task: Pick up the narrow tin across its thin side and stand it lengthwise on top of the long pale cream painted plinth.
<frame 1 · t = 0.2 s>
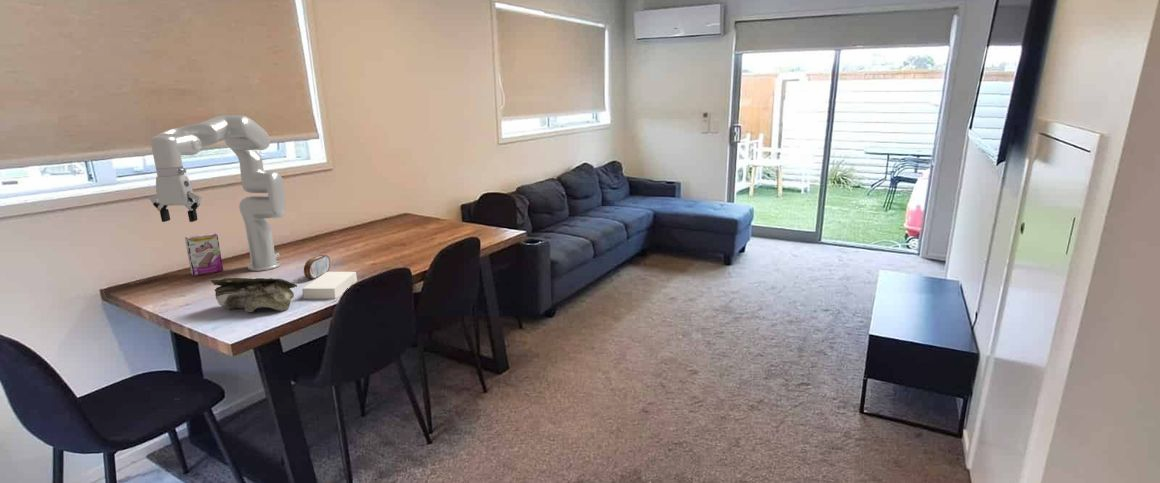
hand: (179, 221, 193), 31 cm above the table, fingers open, 9 cm apart
tin: (319, 276, 232), on the table
candy bar box: (207, 273, 236), on the table
plinth: (331, 289, 215), on the table
hollow geode rock: (256, 308, 197), on the table
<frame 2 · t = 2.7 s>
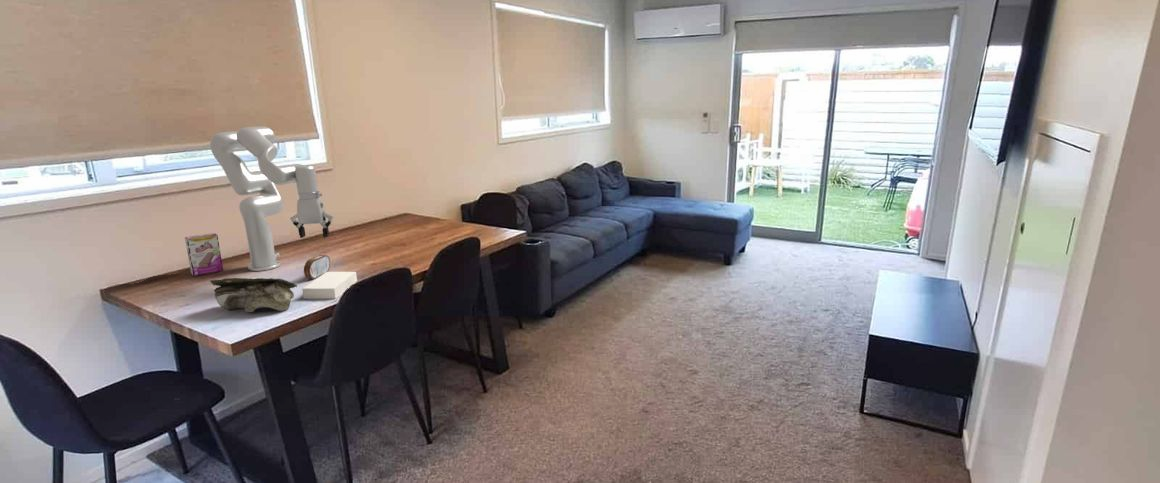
hand: (314, 236, 227), 17 cm above the table, fingers open, 9 cm apart
nothing on the table moved.
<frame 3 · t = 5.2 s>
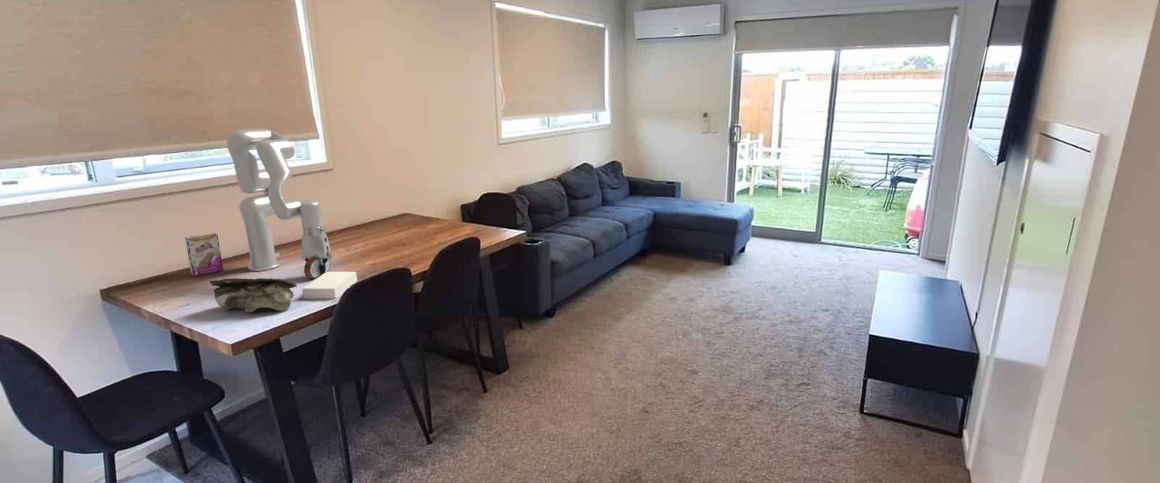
hand: (318, 272, 232), 1 cm above the table, fingers closed on tin, 3 cm apart
tin: (319, 276, 232), on the table, touching gripper
everything else where it was.
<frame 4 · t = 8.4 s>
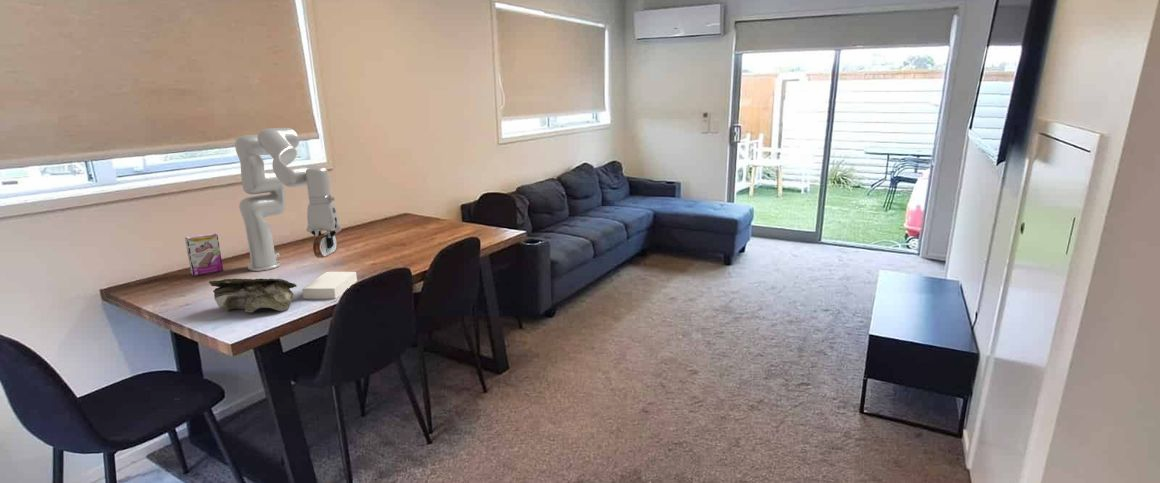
hand: (326, 247, 211), 17 cm above the table, fingers closed on tin, 2 cm apart
tin: (327, 255, 212), point 14 cm above the table, touching gripper
everything else where it was.
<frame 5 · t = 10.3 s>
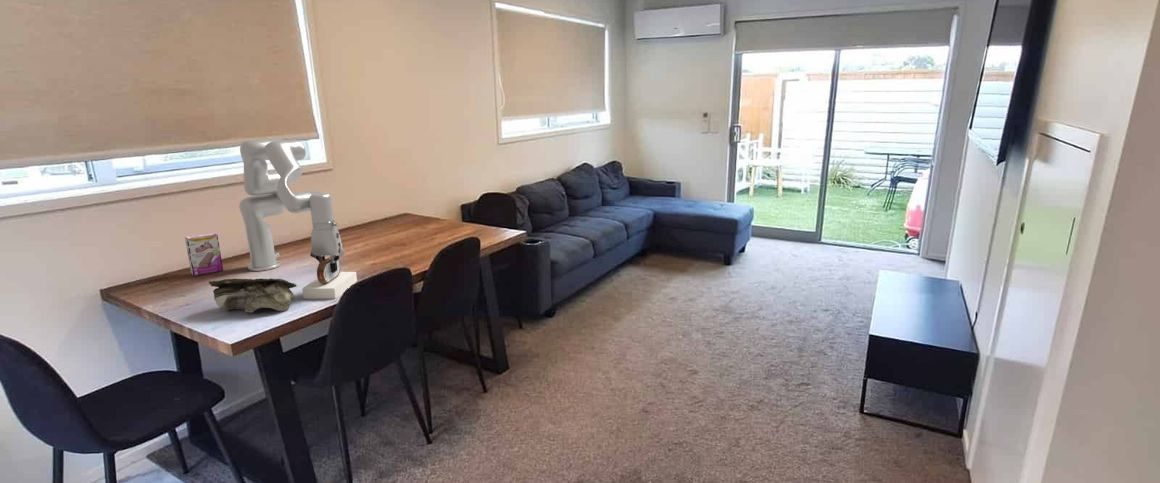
hand: (329, 271, 213), 7 cm above the table, fingers closed on tin, 2 cm apart
tin: (331, 280, 214), point 4 cm above the table, touching gripper, plinth
everything else where it was.
when the fingers open (7 cm above the table, at t = 11.0 s): tin stays where it is, resting on plinth.
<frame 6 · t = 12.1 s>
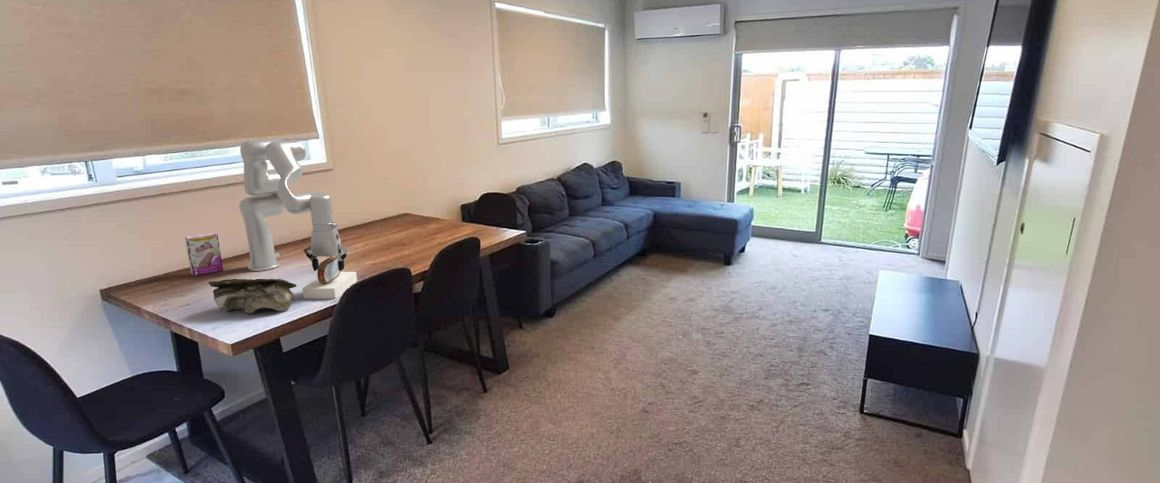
hand: (328, 269, 213), 8 cm above the table, fingers open, 9 cm apart
tin: (331, 280, 214), point 4 cm above the table, touching plinth
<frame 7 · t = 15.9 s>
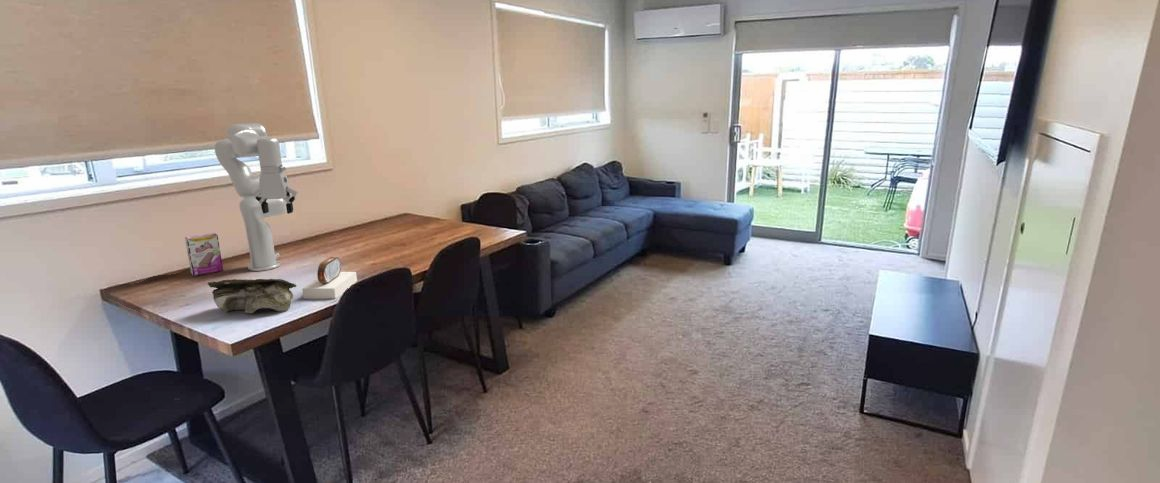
hand: (278, 212, 219), 28 cm above the table, fingers open, 9 cm apart
at the end: tin inside the target area on the plinth (0.4 cm from its centre), point 3.8 cm above the plinth's base; tin tilted 0°; tin touching plinth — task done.
